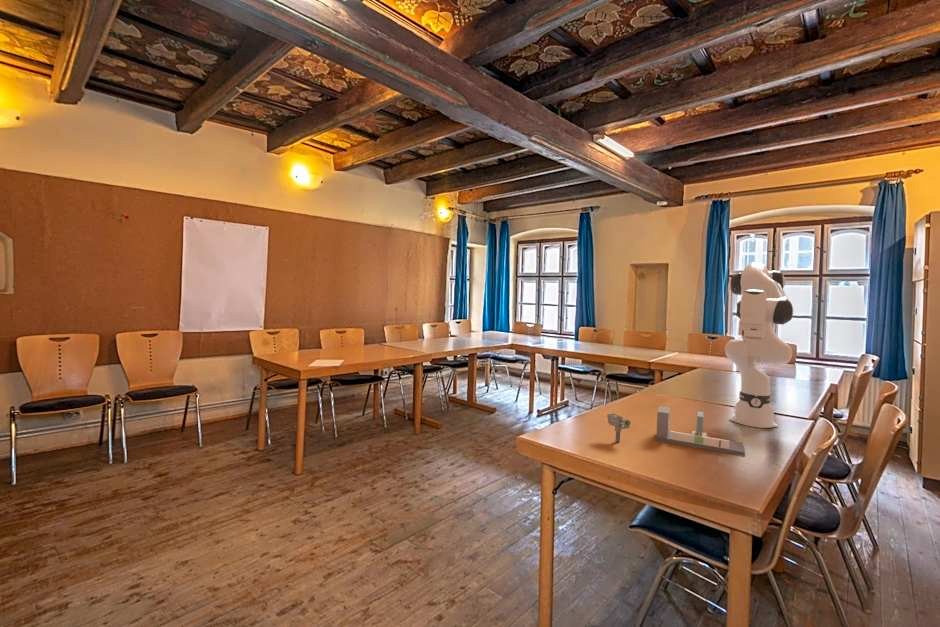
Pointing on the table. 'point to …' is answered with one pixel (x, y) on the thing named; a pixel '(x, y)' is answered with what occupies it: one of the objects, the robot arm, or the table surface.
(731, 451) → the bench
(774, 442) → the table surface
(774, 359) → the robot arm
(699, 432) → the block
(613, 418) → the mechanical component
